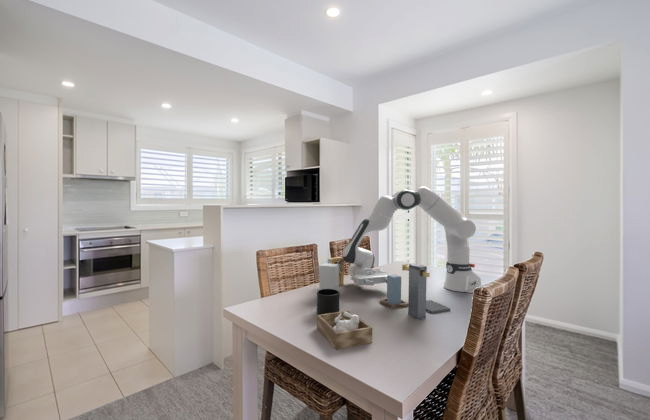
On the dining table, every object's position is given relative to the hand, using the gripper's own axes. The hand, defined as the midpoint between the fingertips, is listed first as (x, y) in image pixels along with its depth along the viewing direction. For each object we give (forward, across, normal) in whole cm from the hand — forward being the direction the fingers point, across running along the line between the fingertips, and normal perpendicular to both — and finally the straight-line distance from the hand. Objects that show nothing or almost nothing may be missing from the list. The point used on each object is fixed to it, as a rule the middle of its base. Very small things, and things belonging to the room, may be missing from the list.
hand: (381, 282), depth 149 cm
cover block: (+11, 0, +7) cm, 13 cm away
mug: (+10, -32, +7) cm, 34 cm away
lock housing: (+27, 0, +7) cm, 28 cm away
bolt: (+26, 0, -10) cm, 28 cm away
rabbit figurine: (+34, -35, +8) cm, 49 cm away
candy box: (-27, -12, +7) cm, 31 cm away
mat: (+21, +13, +7) cm, 26 cm away
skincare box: (-11, -23, +7) cm, 27 cm away
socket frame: (+11, 0, +7) cm, 13 cm away
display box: (+32, -36, +7) cm, 49 cm away
